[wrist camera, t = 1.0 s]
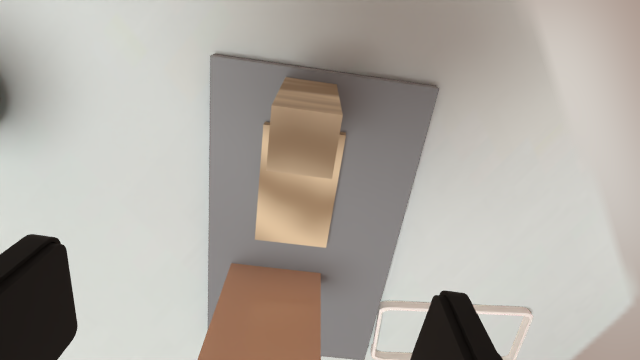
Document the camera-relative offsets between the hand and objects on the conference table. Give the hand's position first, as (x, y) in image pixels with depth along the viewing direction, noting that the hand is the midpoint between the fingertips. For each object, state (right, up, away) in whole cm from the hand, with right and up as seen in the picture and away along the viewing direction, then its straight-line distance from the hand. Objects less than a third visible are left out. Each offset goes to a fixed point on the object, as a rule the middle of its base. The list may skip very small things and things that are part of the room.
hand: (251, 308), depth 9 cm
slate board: (0, -1, +23) cm, 23 cm away
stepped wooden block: (0, +4, +19) cm, 19 cm away
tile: (-2, -5, +23) cm, 24 cm away
